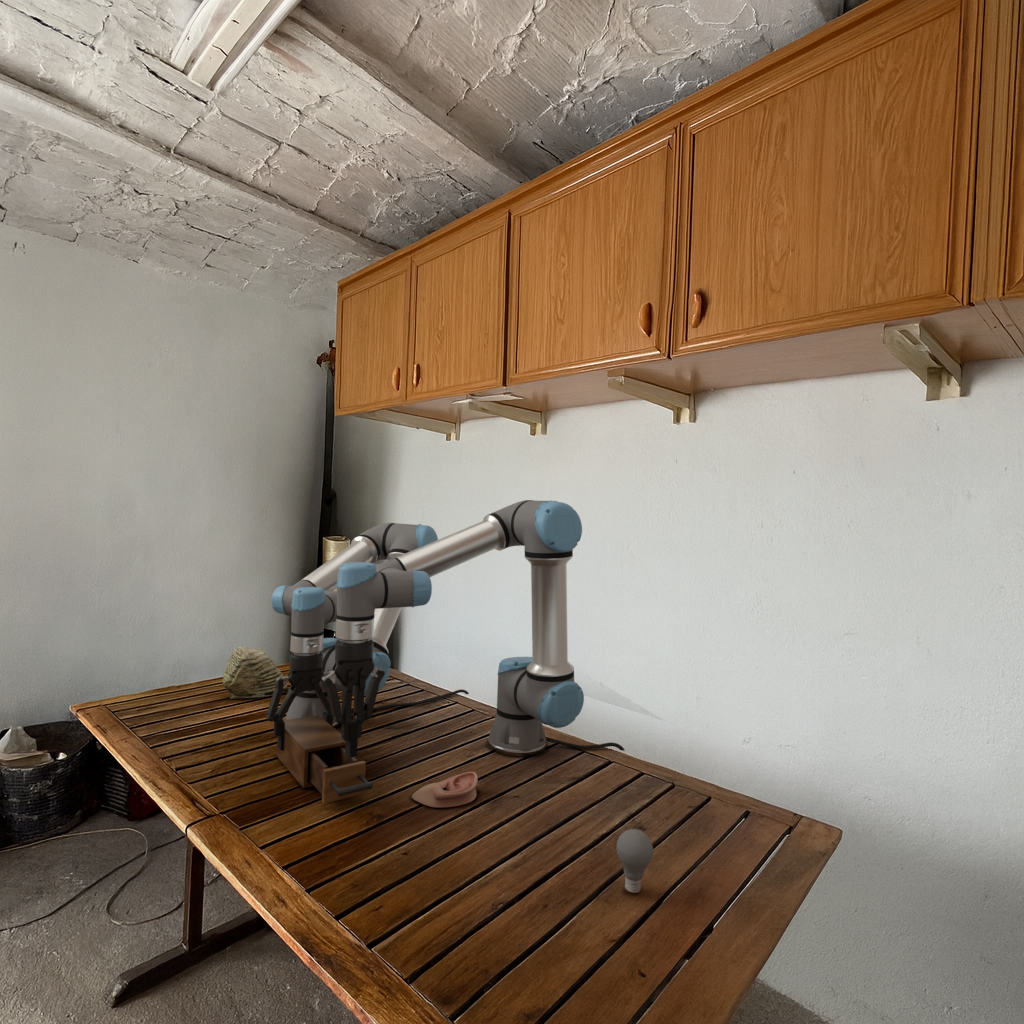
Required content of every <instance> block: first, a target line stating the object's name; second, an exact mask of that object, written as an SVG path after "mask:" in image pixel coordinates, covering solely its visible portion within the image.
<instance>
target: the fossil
mask: <svg viewBox="0 0 1024 1024" xmlns="http://www.w3.org/2000/svg"><path fill="white" fill-rule="evenodd" d="M222 676H223V677H222V685H223V687H224V688H225V690H226V691H228V693H229V698H230V699H250V698H264V697H272V696H273V693H274V689H275V678H276V677H280V678H281V677H285V676H284V674H283V673H282V672H281V669H279V668H278V667H277V665H276V663H275V662H274V660H273V659H272V658H271V657H270V656H269V655H268V654H267V653H266V652H265V650H264V649H263V648H260V647H258V648H251V647H247V646H246V647H245V646H238V647H237V648H236V649H235V650H233V651H232V653H231V656H230V657H229V659H228V660H227V663H226V666H225V668H224V671H223V675H222ZM287 687H288V686H287V684H286V686H284V688H283V693H285V691H286V689H287Z"/></svg>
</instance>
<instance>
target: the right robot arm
mask: <svg viewBox="0 0 1024 1024" xmlns="http://www.w3.org/2000/svg"><path fill="white" fill-rule="evenodd" d="M582 524H583V523H582V520H581V517H580V515H579V514H578V512H577V511H576V510H575V509H574V508H573V506H571V505H570V504H568V503H566V502H562V501H558V500H551V499H550V500H535V499H525V500H521V501H517V502H515V503H512V504H509V505H507V506H505V507H502V508H499V509H498V510H496V511H493V512H491V513H488V514H486V515H484V517H483V518H482V521H480V522H477V523H475V524H473V525H470V526H468V527H465V528H463V529H461V530H458V531H456V532H453V533H451V534H448V535H446V536H444V537H442V538H438V540H437V541H434V542H432V543H429V544H427V545H425V546H422V547H420V548H417V549H415V550H413V551H410V552H408V553H405V554H403V555H401V556H398V557H396V558H394V559H391V560H388V561H387V560H385V561H384V562H375V563H367V562H348V563H344V564H342V565H341V566H340V567H339V570H338V579H337V585H336V587H337V588H336V591H337V618H336V621H335V638H337V639H338V640H337V641H336V642H335V664H334V666H333V669H332V672H331V673H329V674H328V675H327V676H325V675H324V676H322V677H321V681H322V682H323V684H324V685H325V686H326V690H327V695H328V700H329V704H330V709H331V713H332V718H333V720H334V721H335V722H337V723H338V724H340V725H341V733H340V734H341V736H342V739H343V740H344V741H345V753H346V754H347V755H348V756H349V757H350V758H351V757H355V758H356V757H358V742H359V741H358V740H359V739H360V738H362V737H363V724H365V722H366V720H367V719H370V718H372V715H373V712H374V711H373V708H374V707H375V704H376V700H377V697H378V692H379V691H378V688H379V684H380V681H381V680H382V678H383V676H384V675H385V672H384V671H383V670H381V669H379V668H376V667H375V664H374V662H373V644H374V641H373V640H372V639H371V638H372V637H373V636H374V617H375V615H374V612H375V609H382V608H396V607H402V608H414V607H415V608H416V607H421V606H425V605H427V604H428V603H429V602H430V600H431V598H432V595H433V594H432V592H433V585H432V579H431V578H432V577H434V576H437V575H439V574H441V573H444V572H446V571H448V570H450V569H452V568H455V567H457V566H459V565H462V564H463V563H466V562H469V561H471V560H473V559H475V558H477V557H479V556H483V555H484V554H487V553H489V552H491V551H493V550H496V551H499V552H500V551H503V550H505V549H507V548H511V547H512V548H513V547H520V546H521V547H524V558H525V559H526V560H527V561H528V562H529V563H530V580H531V581H530V583H531V586H530V588H531V642H532V643H531V645H532V646H531V648H532V649H531V650H532V651H531V652H532V653H531V654H532V655H531V656H511V657H507V658H506V657H505V658H503V659H501V660H500V662H499V664H498V670H497V690H496V691H497V693H496V694H497V695H496V715H495V718H494V721H493V723H492V726H491V729H490V732H489V735H488V743H487V745H488V747H489V748H490V749H491V750H492V751H494V752H496V753H498V754H501V755H505V756H509V757H531V756H536V755H538V754H541V753H543V752H544V751H545V750H547V742H548V743H553V744H557V745H560V746H564V747H568V748H573V749H577V750H593V749H603V748H607V747H614V748H616V749H618V750H620V751H623V752H624V751H625V748H624V747H623V746H622V745H621V744H619V743H618V742H605V743H598V744H587V745H585V744H584V745H582V744H575V743H571V742H567V741H563V740H559V739H556V738H551V737H547V735H546V732H545V728H544V725H545V726H549V727H551V728H555V729H561V728H565V727H567V726H570V724H572V723H573V722H575V720H576V718H577V717H578V716H579V715H580V714H581V712H582V709H583V707H584V703H585V694H584V690H583V689H582V687H581V686H580V685H579V684H578V682H575V667H574V665H573V664H571V662H569V658H568V657H569V653H568V652H569V651H568V650H569V647H568V645H569V644H568V641H569V640H568V579H567V578H568V576H567V575H568V571H567V570H568V569H567V566H568V565H567V564H568V563H569V562H570V561H571V559H572V558H573V557H574V552H573V551H574V549H575V548H576V547H577V546H578V543H579V542H580V541H581V539H582V534H583V525H582ZM370 674H371V678H370V681H369V685H368V689H367V693H366V695H364V689H365V682H366V680H367V678H368V677H369V675H370ZM335 677H337V678H338V680H339V681H340V682H341V688H342V691H341V704H340V705H341V710H340V705H339V701H340V699H339V700H338V697H339V695H338V696H337V693H338V691H336V687H335V685H334V684H335V683H336V680H335ZM353 686H354V694H353V693H352V691H353ZM352 710H353V713H351V712H352Z"/></svg>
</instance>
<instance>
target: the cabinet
mask: <svg viewBox="0 0 1024 1024" xmlns="http://www.w3.org/2000/svg"><path fill="white" fill-rule="evenodd" d="M282 720H283V721H284V722H285V734H284V750H280V749H279V748H278V747H277V746H276V757H277V758H278V760H279V761H280V762H281V763H282V764H283V766H284V767H285V768H286V770H287V771H288V772H289V773H290V774H291V775H292V776H293V778H294V779H295V780H296V781H297V782H298V784H299V785H300V786H301V787H302V789H306V788H311V787H315V786H314V785H313V784H312V783H311V782H310V781H309V780H308V752H313V751H318V750H323V749H328V748H333V747H338V746H343V747H344V748H345V741H344V740H343V739H342V736H341V734H342V733H341V732H340V731H339V730H337V729H336V728H333V727H332V726H331V725H330V724H329V723H327V722H326V721H325V720H324V719H323V718H322V717H320V716H319V715H313V716H307V717H301V718H295V719H289V720H286V719H285V720H284V719H282ZM276 738H277V739H276V745H277V744H278V736H276Z"/></svg>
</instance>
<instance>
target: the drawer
mask: <svg viewBox="0 0 1024 1024" xmlns="http://www.w3.org/2000/svg"><path fill="white" fill-rule="evenodd" d="M366 766H367V763H366V761H365V760H361V761H359V759H358V758H356V756H355V757H351V758H350V757H349V756H348V755H347V754H346V753H345V748H344V747H343V746H338V747H333V748H328V749H323V750H318V751H313V752H308V780H309V781H310V782H311V783H312V784H313V785H314V786H313V787H314V788H315V789H316V790H317V791H318V792H319V794H320V795H321V802H322V803H323V804H324V805H325V804H329V803H332V802H337V801H342V800H345V799H348V798H354V797H357V796H362V795H364V794H366V791H367V790H371V789H373V785H374V784H373V782H372V781H368V780H367V778H366V770H367V769H366V768H367V767H366Z"/></svg>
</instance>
